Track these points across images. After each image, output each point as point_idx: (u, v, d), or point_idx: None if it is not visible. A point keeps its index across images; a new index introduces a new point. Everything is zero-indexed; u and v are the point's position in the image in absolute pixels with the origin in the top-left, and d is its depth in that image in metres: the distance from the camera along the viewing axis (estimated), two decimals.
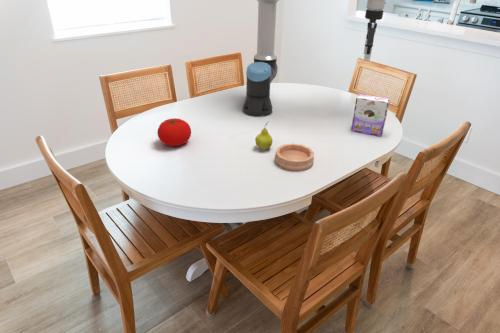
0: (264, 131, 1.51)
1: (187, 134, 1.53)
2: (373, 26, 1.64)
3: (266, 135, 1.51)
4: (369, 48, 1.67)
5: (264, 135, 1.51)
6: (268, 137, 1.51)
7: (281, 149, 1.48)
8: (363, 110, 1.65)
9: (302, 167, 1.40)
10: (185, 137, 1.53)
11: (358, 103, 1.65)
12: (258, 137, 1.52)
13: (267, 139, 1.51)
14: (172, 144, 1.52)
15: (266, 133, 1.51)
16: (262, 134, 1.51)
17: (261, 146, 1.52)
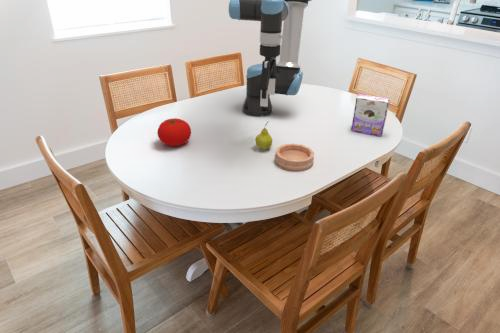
0: (264, 131, 1.51)
1: (187, 134, 1.53)
2: (266, 65, 1.32)
3: (266, 135, 1.51)
4: (264, 92, 1.35)
5: (264, 135, 1.51)
6: (268, 137, 1.51)
7: (281, 149, 1.48)
8: (363, 110, 1.65)
9: (302, 167, 1.40)
10: (185, 137, 1.53)
11: (358, 103, 1.65)
12: (258, 137, 1.52)
13: (267, 139, 1.51)
14: (172, 144, 1.52)
15: (266, 133, 1.51)
16: (262, 134, 1.51)
17: (261, 146, 1.52)
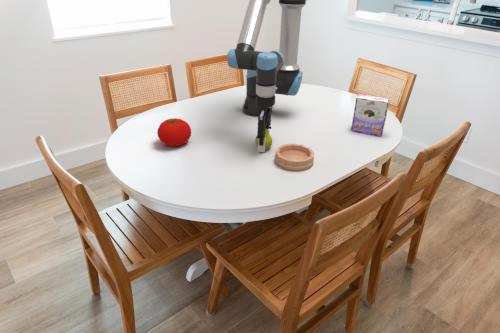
0: None
1: (187, 134, 1.53)
2: (261, 118, 1.42)
3: (266, 135, 1.51)
4: (261, 140, 1.48)
5: None
6: (268, 137, 1.51)
7: (281, 149, 1.48)
8: (363, 110, 1.65)
9: (302, 167, 1.40)
10: (185, 137, 1.53)
11: (358, 103, 1.65)
12: None
13: (267, 139, 1.51)
14: (172, 144, 1.52)
15: (266, 133, 1.51)
16: None
17: None
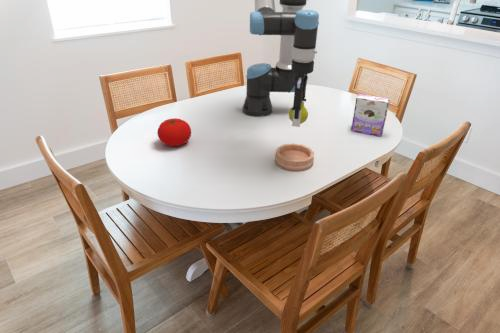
0: None
1: (187, 134, 1.53)
2: (299, 86, 1.25)
3: (301, 107, 1.34)
4: (297, 112, 1.31)
5: None
6: (304, 110, 1.34)
7: (281, 149, 1.48)
8: (363, 110, 1.65)
9: (302, 167, 1.40)
10: (185, 137, 1.53)
11: (358, 103, 1.65)
12: (292, 110, 1.35)
13: (303, 112, 1.34)
14: (172, 144, 1.52)
15: (301, 105, 1.34)
16: None
17: None
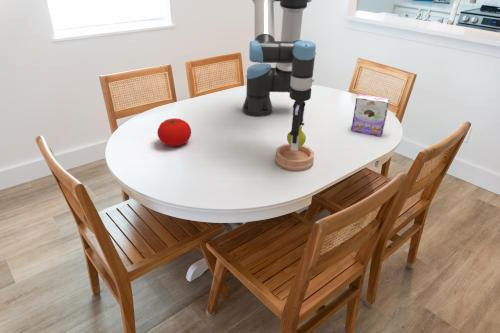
0: None
1: (187, 134, 1.53)
2: (297, 113, 1.30)
3: (299, 132, 1.39)
4: (295, 137, 1.36)
5: None
6: (301, 134, 1.39)
7: (281, 149, 1.48)
8: (363, 110, 1.65)
9: (302, 167, 1.40)
10: (185, 137, 1.53)
11: (358, 103, 1.65)
12: None
13: (300, 136, 1.39)
14: (172, 144, 1.52)
15: (299, 130, 1.39)
16: None
17: None
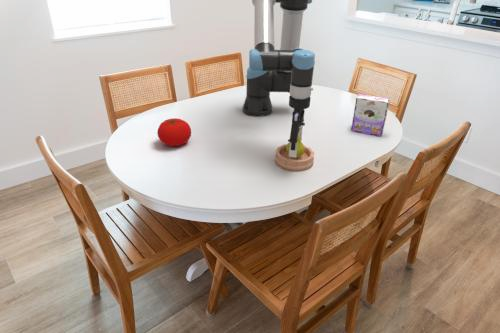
0: None
1: (187, 134, 1.53)
2: (296, 119, 1.31)
3: (298, 143, 1.41)
4: (293, 144, 1.34)
5: None
6: (300, 145, 1.42)
7: (281, 149, 1.48)
8: (363, 110, 1.65)
9: (302, 167, 1.40)
10: (185, 137, 1.53)
11: (358, 103, 1.65)
12: None
13: (299, 147, 1.41)
14: (172, 144, 1.52)
15: (298, 141, 1.41)
16: None
17: None
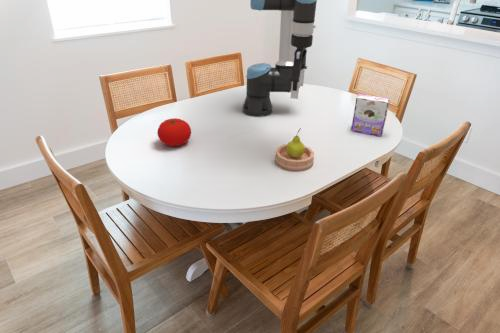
0: (296, 138, 1.41)
1: (187, 134, 1.53)
2: (298, 56, 1.29)
3: (298, 143, 1.41)
4: (295, 83, 1.32)
5: (296, 143, 1.41)
6: (300, 145, 1.42)
7: (281, 149, 1.48)
8: (363, 110, 1.65)
9: (302, 167, 1.40)
10: (185, 137, 1.53)
11: (358, 103, 1.65)
12: (290, 145, 1.42)
13: (299, 147, 1.41)
14: (172, 144, 1.52)
15: (298, 141, 1.41)
16: (294, 142, 1.41)
17: (293, 154, 1.42)
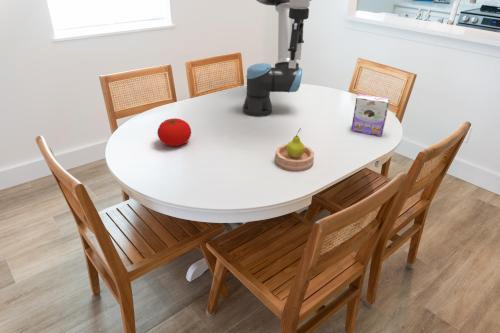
0: (296, 138, 1.41)
1: (187, 134, 1.53)
2: (296, 27, 1.39)
3: (298, 143, 1.41)
4: (293, 53, 1.42)
5: (296, 143, 1.41)
6: (300, 145, 1.42)
7: (281, 149, 1.48)
8: (363, 110, 1.65)
9: (302, 167, 1.40)
10: (185, 137, 1.53)
11: (358, 103, 1.65)
12: (290, 145, 1.42)
13: (299, 147, 1.41)
14: (172, 144, 1.52)
15: (298, 141, 1.41)
16: (294, 142, 1.41)
17: (293, 154, 1.42)
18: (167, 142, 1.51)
